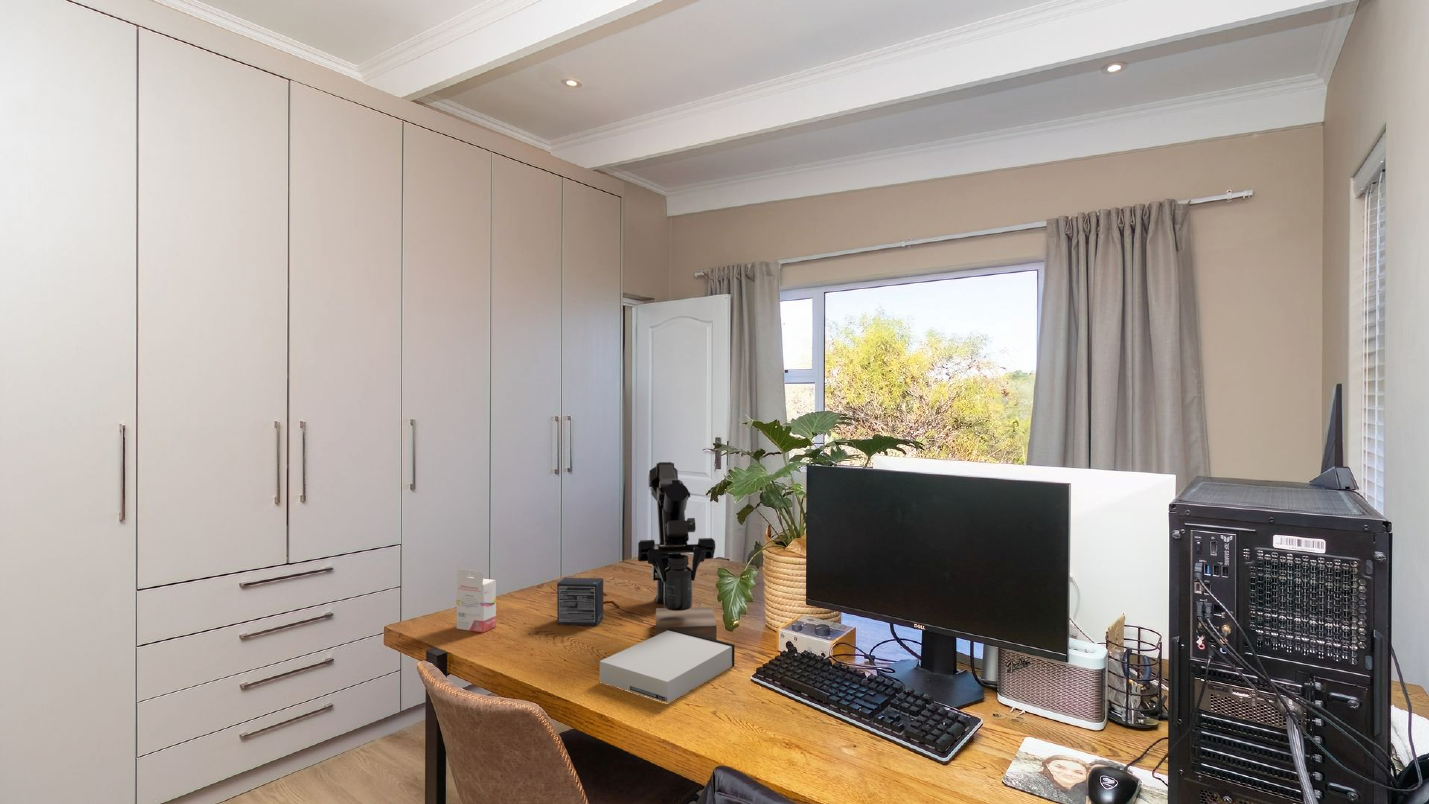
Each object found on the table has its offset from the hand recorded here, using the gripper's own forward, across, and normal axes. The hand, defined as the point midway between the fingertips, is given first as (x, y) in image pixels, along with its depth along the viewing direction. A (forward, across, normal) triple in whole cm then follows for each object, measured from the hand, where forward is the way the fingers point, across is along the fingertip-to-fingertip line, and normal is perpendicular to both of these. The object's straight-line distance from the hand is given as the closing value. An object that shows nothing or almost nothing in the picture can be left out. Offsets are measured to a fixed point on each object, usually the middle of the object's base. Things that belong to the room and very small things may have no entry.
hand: (678, 580), depth 160 cm
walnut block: (+8, +2, +10) cm, 13 cm away
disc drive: (+25, -4, -6) cm, 26 cm away
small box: (-1, -23, +20) cm, 31 cm away
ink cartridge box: (0, -48, +19) cm, 52 cm away
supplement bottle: (+4, 0, +6) cm, 7 cm away
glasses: (-10, -21, +30) cm, 38 cm away
